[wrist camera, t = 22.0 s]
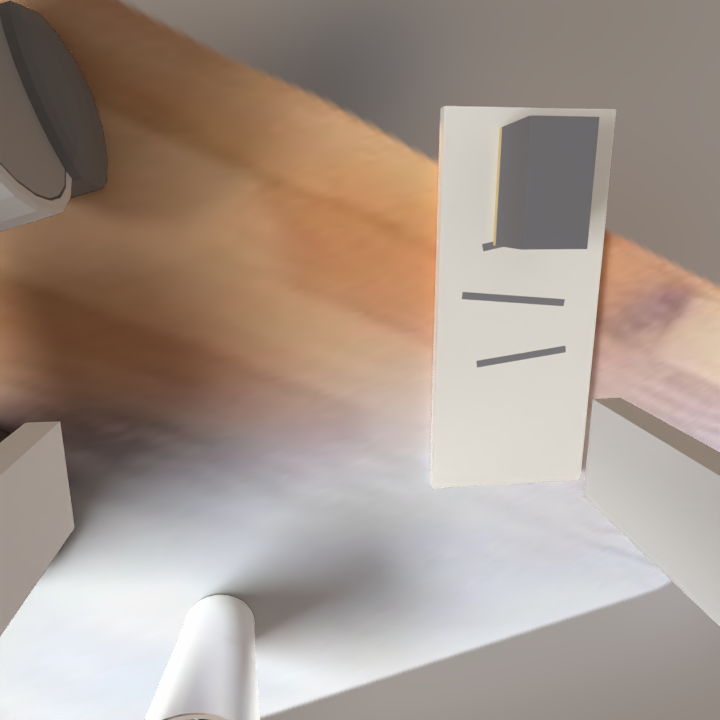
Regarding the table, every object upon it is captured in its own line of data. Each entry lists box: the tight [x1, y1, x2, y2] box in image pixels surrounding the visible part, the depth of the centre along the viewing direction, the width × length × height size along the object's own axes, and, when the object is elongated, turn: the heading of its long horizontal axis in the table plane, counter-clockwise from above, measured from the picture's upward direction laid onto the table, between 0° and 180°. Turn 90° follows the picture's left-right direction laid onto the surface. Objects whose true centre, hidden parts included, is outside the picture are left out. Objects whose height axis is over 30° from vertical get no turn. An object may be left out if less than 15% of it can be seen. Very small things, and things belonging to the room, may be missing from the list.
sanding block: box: [493, 115, 599, 250], centre depth 44 cm, size 5×9×6 cm, turn 0°
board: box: [429, 106, 616, 488], centre depth 50 cm, size 14×32×1 cm, turn 0°
